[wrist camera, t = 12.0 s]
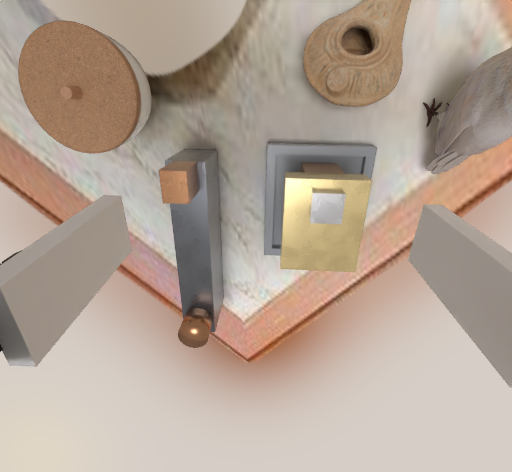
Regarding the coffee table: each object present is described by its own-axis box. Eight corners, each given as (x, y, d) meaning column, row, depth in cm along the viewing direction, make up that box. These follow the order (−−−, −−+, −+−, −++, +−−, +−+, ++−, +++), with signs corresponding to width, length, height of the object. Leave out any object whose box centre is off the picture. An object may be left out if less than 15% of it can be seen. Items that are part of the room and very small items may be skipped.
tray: (267, 142, 35) (266, 151, 30) (371, 144, 34) (389, 154, 29) (264, 247, 41) (262, 271, 36) (352, 251, 41) (364, 275, 35)
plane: (184, 148, 36) (149, 170, 26) (217, 149, 36) (195, 171, 26) (197, 297, 45) (175, 354, 36) (223, 298, 45) (208, 356, 35)
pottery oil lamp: (434, 19, 29) (479, -1, 23) (346, 123, 34) (363, 130, 27) (371, -51, 27) (400, -94, 21) (286, 69, 32) (289, 63, 25)
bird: (489, 34, 29) (671, -15, 16) (447, 170, 35) (555, 218, 22) (438, 33, 30) (576, -17, 16) (405, 169, 35) (485, 215, 22)
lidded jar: (179, 70, 32) (145, 63, 24) (147, 158, 37) (108, 177, 28) (84, 14, 31) (11, -16, 22) (61, 113, 35) (-7, 119, 27)
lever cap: (285, 172, 30) (286, 181, 27) (364, 174, 30) (375, 184, 27) (280, 257, 35) (280, 274, 31) (349, 260, 34) (357, 278, 31)
